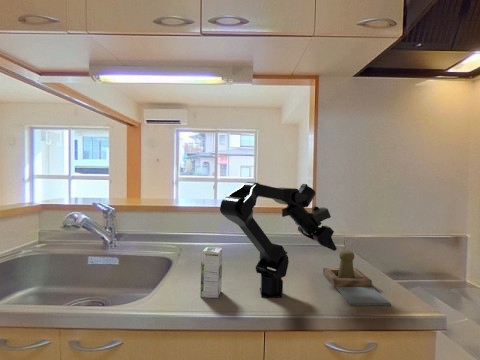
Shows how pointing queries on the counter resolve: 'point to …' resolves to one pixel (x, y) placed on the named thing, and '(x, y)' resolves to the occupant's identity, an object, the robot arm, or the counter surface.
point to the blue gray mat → (362, 296)
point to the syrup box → (211, 272)
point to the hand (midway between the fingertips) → (329, 246)
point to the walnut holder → (357, 281)
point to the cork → (346, 264)
